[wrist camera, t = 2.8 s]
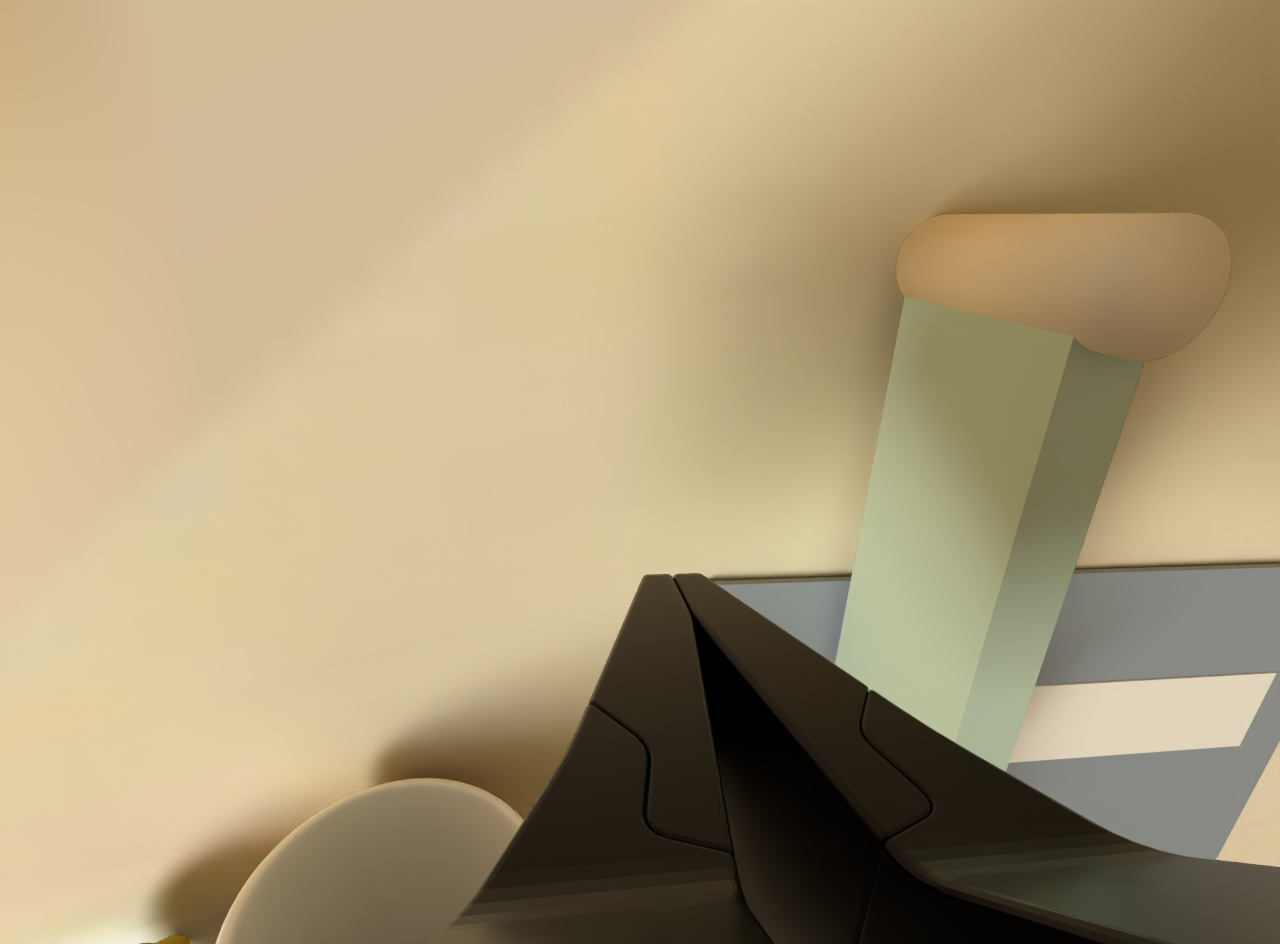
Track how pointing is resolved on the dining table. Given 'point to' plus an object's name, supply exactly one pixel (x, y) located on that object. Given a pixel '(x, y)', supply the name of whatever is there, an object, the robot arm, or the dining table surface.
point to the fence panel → (1006, 445)
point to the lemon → (173, 940)
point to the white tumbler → (375, 867)
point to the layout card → (1126, 693)
